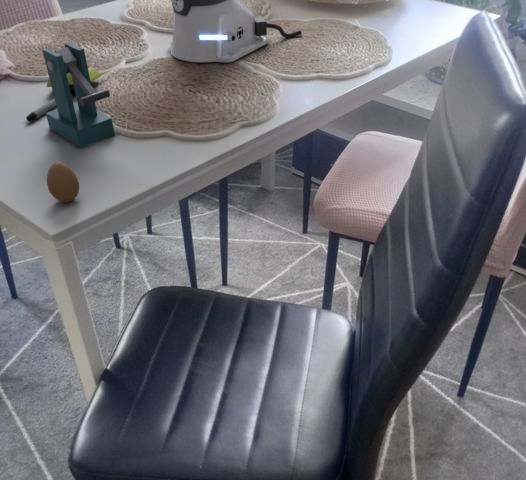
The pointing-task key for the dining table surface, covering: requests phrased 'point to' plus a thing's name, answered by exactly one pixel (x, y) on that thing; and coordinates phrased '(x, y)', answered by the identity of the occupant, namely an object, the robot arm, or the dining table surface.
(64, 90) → the teal axle stand
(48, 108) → the pen
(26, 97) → the dining table surface
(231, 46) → the robot arm
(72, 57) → the lever
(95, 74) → the saucer
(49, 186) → the egg
